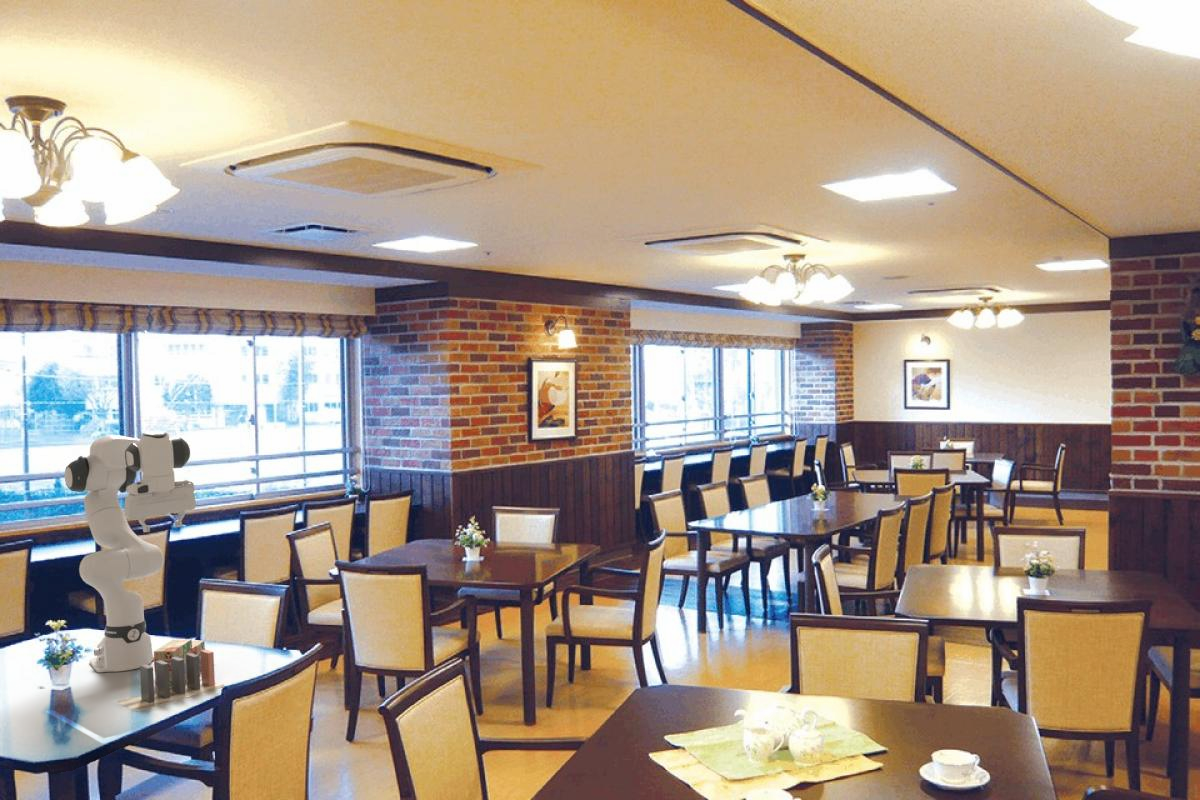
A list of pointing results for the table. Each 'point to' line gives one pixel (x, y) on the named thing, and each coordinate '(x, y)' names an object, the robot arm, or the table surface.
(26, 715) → the table surface
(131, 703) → the domino board
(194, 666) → the domino
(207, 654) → the domino
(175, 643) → the stack of blocks
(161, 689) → the domino
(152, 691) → the domino
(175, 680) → the domino
